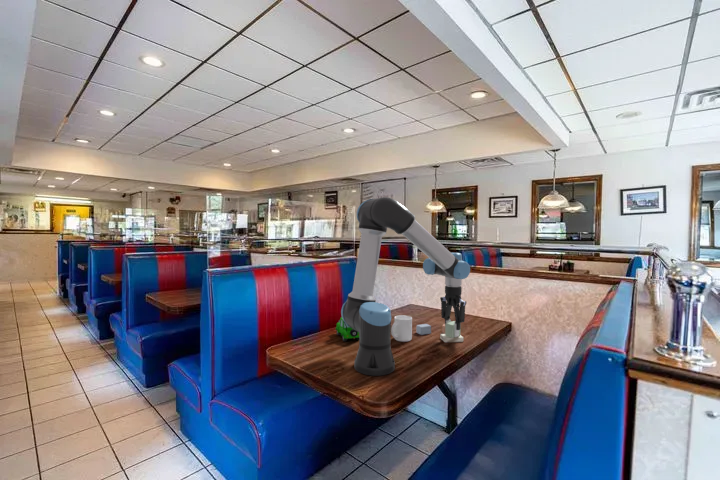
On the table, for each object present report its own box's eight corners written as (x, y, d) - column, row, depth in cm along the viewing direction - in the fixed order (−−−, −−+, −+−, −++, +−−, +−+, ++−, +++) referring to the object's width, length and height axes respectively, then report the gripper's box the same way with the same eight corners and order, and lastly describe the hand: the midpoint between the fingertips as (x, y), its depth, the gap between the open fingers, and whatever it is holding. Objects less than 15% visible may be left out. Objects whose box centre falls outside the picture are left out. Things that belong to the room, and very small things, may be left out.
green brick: (452, 337, 159) (452, 325, 158) (445, 335, 162) (445, 323, 162) (460, 335, 162) (460, 322, 162) (453, 333, 165) (453, 320, 165)
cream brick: (444, 344, 159) (444, 338, 158) (440, 340, 164) (440, 334, 164) (463, 343, 160) (463, 337, 160) (458, 339, 166) (458, 333, 166)
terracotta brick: (450, 334, 170) (450, 326, 170) (442, 333, 172) (442, 325, 172) (453, 331, 176) (453, 323, 175) (445, 330, 177) (445, 322, 177)
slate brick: (421, 335, 169) (421, 327, 169) (416, 333, 173) (416, 325, 172) (431, 333, 172) (431, 325, 171) (426, 331, 175) (426, 323, 175)
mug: (397, 344, 154) (398, 322, 154) (384, 340, 160) (385, 318, 160) (415, 339, 162) (415, 317, 162) (402, 335, 168) (402, 314, 168)
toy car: (350, 331, 173) (351, 312, 172) (363, 342, 157) (363, 321, 156) (334, 333, 170) (334, 313, 170) (345, 344, 154) (345, 322, 153)
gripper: (473, 287, 156) (472, 338, 157) (444, 282, 170) (443, 329, 171) (463, 289, 152) (462, 341, 153) (433, 283, 166) (433, 331, 166)
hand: (452, 335), depth 162 cm, fingers closed on green brick, 4 cm apart
